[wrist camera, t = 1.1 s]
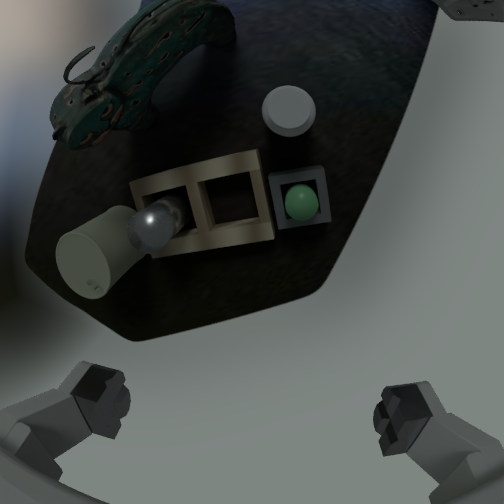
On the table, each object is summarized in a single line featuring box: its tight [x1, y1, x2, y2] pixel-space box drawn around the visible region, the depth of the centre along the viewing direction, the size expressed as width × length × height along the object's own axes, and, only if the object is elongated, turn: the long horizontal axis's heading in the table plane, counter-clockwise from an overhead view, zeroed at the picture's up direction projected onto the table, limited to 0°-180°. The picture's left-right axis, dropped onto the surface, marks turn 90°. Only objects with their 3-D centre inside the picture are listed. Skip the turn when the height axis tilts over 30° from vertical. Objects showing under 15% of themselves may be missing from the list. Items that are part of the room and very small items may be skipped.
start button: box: [285, 183, 318, 221], centre depth 32 cm, size 4×4×3 cm
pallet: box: [129, 149, 275, 258], centre depth 37 cm, size 17×11×3 cm, turn 102°
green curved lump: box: [50, 0, 236, 151], centre depth 22 cm, size 20×6×20 cm, turn 133°
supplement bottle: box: [262, 86, 316, 137], centre depth 28 cm, size 5×5×10 cm
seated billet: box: [127, 192, 193, 254], centre depth 34 cm, size 5×5×10 cm
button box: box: [268, 165, 332, 229], centre depth 34 cm, size 6×6×4 cm
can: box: [56, 206, 145, 299], centre depth 36 cm, size 9×9×12 cm
